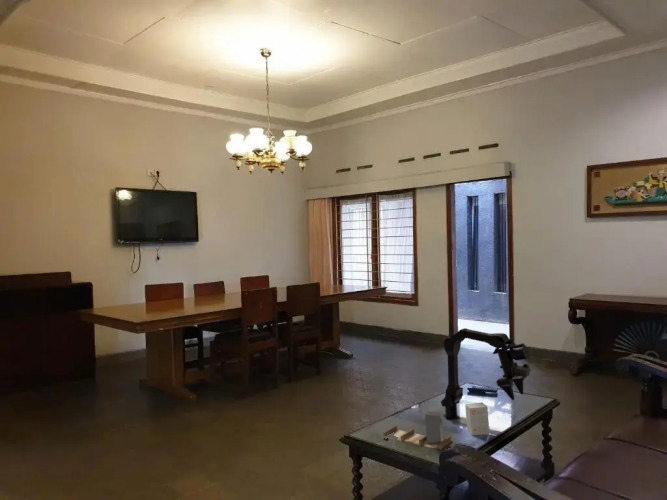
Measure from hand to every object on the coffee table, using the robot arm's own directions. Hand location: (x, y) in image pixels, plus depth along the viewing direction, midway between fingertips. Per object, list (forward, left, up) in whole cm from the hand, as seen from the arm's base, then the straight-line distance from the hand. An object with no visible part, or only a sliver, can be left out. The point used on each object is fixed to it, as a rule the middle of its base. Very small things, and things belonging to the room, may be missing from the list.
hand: (517, 396), depth 226 cm
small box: (-2, -18, -16) cm, 24 cm away
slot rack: (-2, -46, -15) cm, 49 cm away
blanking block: (+4, -40, -14) cm, 43 cm away
